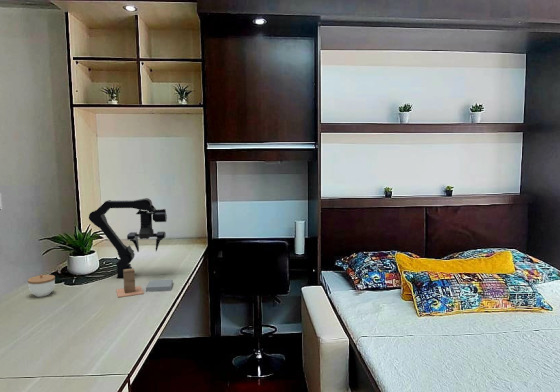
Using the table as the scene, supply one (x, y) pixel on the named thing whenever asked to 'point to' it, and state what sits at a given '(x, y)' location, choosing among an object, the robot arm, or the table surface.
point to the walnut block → (129, 280)
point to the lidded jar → (41, 285)
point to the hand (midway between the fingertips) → (147, 251)
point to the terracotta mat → (122, 294)
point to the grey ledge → (159, 285)
